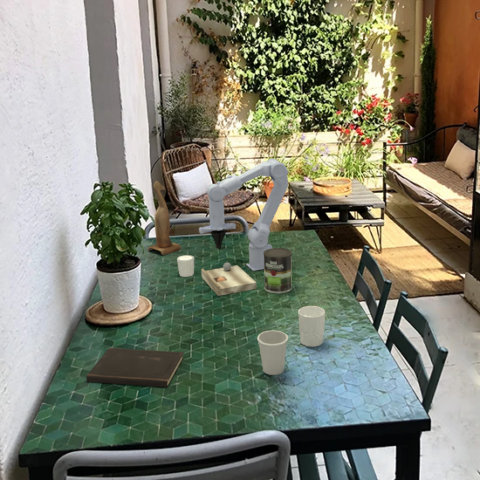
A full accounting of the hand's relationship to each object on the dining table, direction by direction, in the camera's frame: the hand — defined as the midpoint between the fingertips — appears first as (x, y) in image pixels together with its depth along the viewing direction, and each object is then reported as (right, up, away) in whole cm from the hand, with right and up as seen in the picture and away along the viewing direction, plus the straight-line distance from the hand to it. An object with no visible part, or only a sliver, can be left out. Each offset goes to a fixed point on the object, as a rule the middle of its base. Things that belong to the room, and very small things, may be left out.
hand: (218, 248), depth 232 cm
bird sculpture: (-25, -2, +31) cm, 40 cm away
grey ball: (+3, -7, -4) cm, 9 cm away
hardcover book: (-21, -34, -67) cm, 78 cm away
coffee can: (+23, -15, -15) cm, 31 cm away
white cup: (+30, -28, -56) cm, 69 cm away
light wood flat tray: (+4, -13, -9) cm, 16 cm away
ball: (+1, -12, -11) cm, 17 cm away
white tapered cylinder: (-13, -11, +2) cm, 17 cm away
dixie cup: (+18, -33, -70) cm, 79 cm away
